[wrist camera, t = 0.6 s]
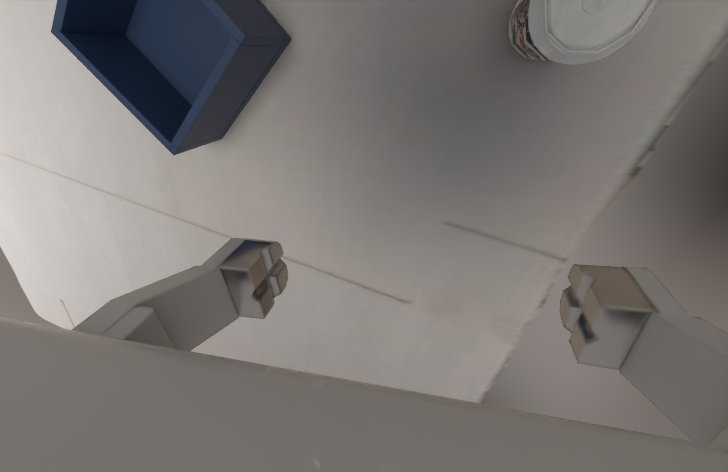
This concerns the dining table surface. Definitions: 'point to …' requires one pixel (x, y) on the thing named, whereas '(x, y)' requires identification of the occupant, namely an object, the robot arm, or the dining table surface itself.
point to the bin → (175, 59)
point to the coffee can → (575, 28)
